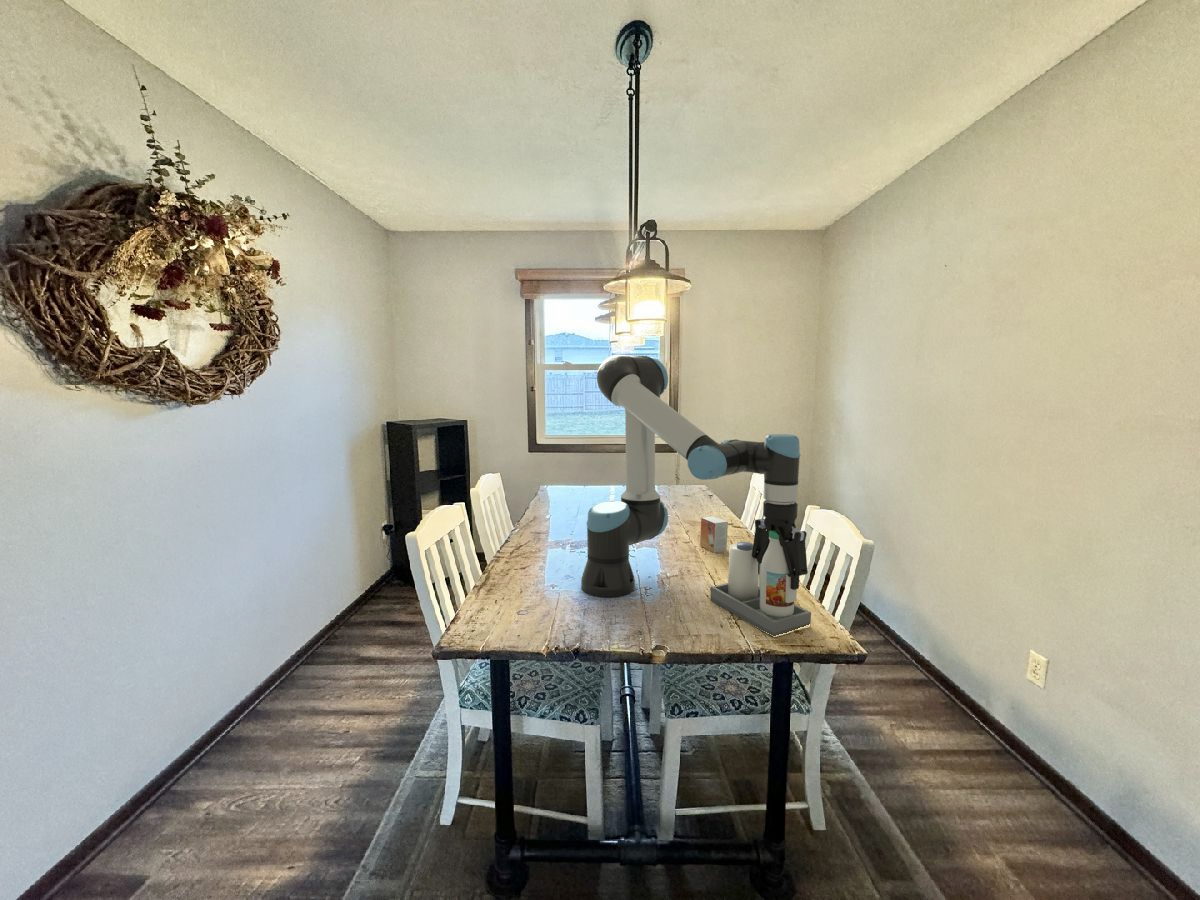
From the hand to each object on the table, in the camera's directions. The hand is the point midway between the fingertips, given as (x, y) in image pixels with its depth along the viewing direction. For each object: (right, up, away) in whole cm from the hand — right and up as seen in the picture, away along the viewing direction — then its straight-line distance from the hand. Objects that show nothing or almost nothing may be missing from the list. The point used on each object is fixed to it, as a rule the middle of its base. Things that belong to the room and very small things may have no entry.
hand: (777, 594), depth 120 cm
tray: (-3, -6, +6) cm, 9 cm away
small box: (-3, 0, +55) cm, 55 cm away
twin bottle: (-5, -5, +11) cm, 13 cm away
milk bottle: (0, -4, +1) cm, 4 cm away
